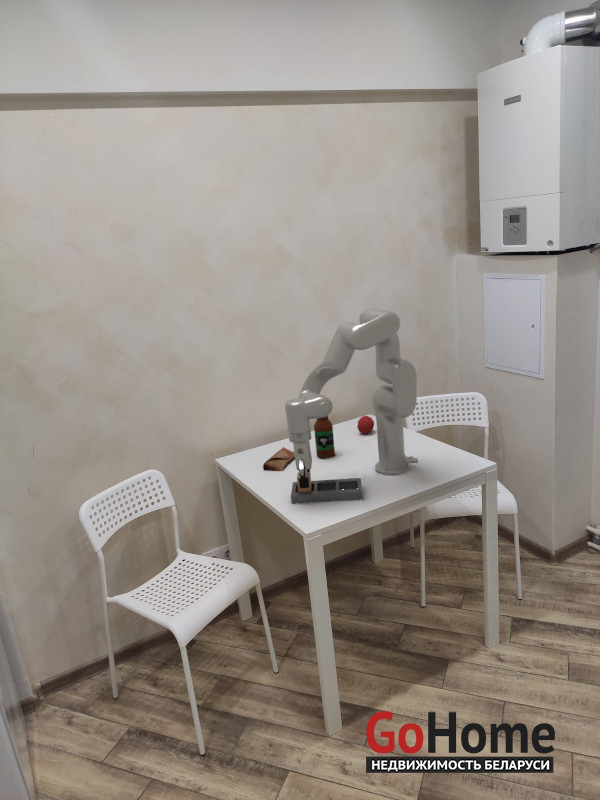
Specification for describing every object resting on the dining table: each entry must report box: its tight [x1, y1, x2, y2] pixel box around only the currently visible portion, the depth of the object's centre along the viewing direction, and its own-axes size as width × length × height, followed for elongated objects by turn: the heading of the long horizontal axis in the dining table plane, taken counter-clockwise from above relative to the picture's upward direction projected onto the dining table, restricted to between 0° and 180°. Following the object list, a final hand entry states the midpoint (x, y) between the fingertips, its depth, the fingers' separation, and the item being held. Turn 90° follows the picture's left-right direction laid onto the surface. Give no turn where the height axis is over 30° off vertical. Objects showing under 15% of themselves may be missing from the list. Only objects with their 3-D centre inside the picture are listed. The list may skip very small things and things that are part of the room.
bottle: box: [313, 395, 336, 460], centre depth 242 cm, size 7×7×25 cm
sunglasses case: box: [262, 446, 295, 472], centre depth 243 cm, size 18×7×7 cm, turn 157°
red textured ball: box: [357, 415, 375, 435], centre depth 265 cm, size 8×8×8 cm
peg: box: [296, 471, 312, 492], centre depth 210 cm, size 4×4×8 cm
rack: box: [290, 477, 364, 505], centre depth 210 cm, size 24×11×3 cm, turn 87°
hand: (305, 481), depth 210 cm, fingers open, 9 cm apart
